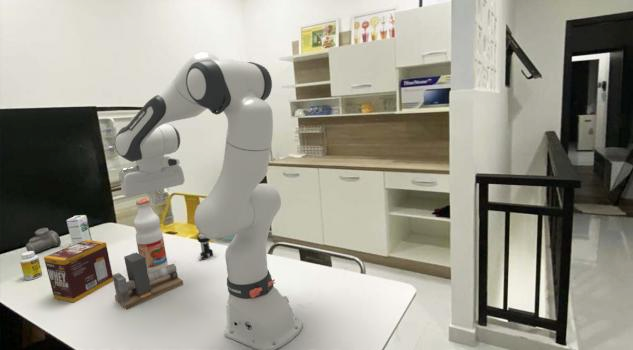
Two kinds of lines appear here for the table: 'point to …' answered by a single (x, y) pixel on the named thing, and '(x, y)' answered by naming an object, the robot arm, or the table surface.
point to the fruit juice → (149, 236)
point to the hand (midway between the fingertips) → (157, 202)
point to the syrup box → (79, 229)
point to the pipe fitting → (43, 240)
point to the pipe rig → (159, 284)
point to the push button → (204, 247)
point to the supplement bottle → (30, 265)
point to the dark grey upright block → (138, 273)
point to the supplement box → (79, 270)
